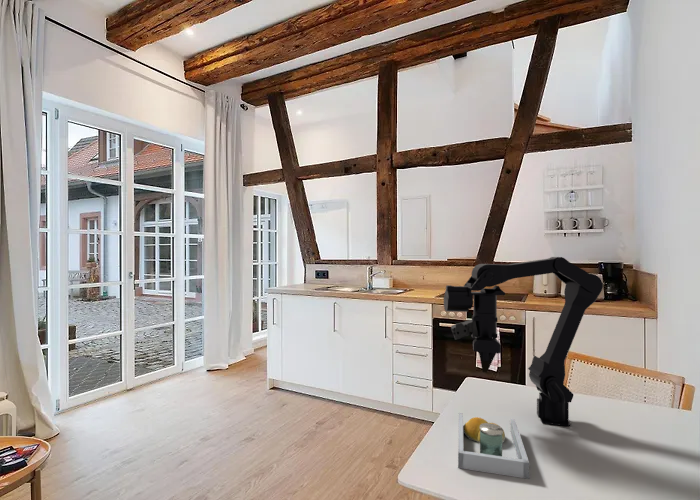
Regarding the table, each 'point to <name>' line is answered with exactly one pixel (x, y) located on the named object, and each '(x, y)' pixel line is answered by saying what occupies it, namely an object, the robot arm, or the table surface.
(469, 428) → the bread roll
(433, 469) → the table surface
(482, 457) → the u-shaped frame
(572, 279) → the robot arm
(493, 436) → the tea tin
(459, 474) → the table surface
